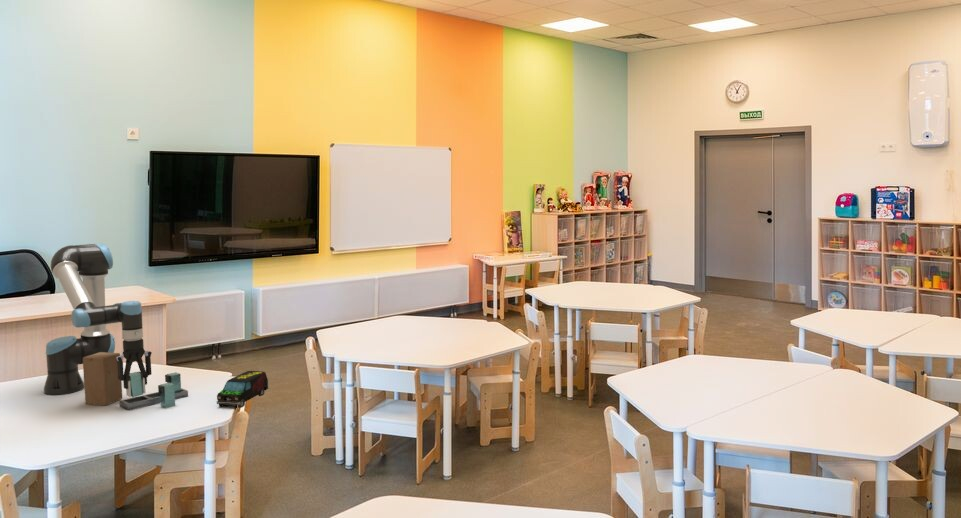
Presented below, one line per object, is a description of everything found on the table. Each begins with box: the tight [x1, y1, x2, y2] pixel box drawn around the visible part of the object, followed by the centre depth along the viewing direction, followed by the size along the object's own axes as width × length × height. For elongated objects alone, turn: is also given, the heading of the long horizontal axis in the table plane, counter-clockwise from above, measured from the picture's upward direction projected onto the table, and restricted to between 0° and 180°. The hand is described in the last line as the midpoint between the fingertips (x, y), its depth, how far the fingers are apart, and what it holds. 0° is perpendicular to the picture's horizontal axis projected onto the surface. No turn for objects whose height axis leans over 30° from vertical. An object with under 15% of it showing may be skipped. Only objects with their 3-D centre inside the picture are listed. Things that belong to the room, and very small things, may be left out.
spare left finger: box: [157, 382, 176, 409], centre depth 283 cm, size 4×5×9 cm
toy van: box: [216, 370, 269, 409], centre depth 292 cm, size 11×25×10 cm, turn 168°
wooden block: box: [82, 352, 123, 406], centre depth 288 cm, size 10×10×20 cm
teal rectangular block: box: [128, 371, 144, 398], centre depth 283 cm, size 4×5×9 cm
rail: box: [119, 372, 189, 411], centre depth 289 cm, size 8×25×10 cm, turn 140°
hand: (136, 394), depth 283 cm, fingers closed on teal rectangular block, 5 cm apart
